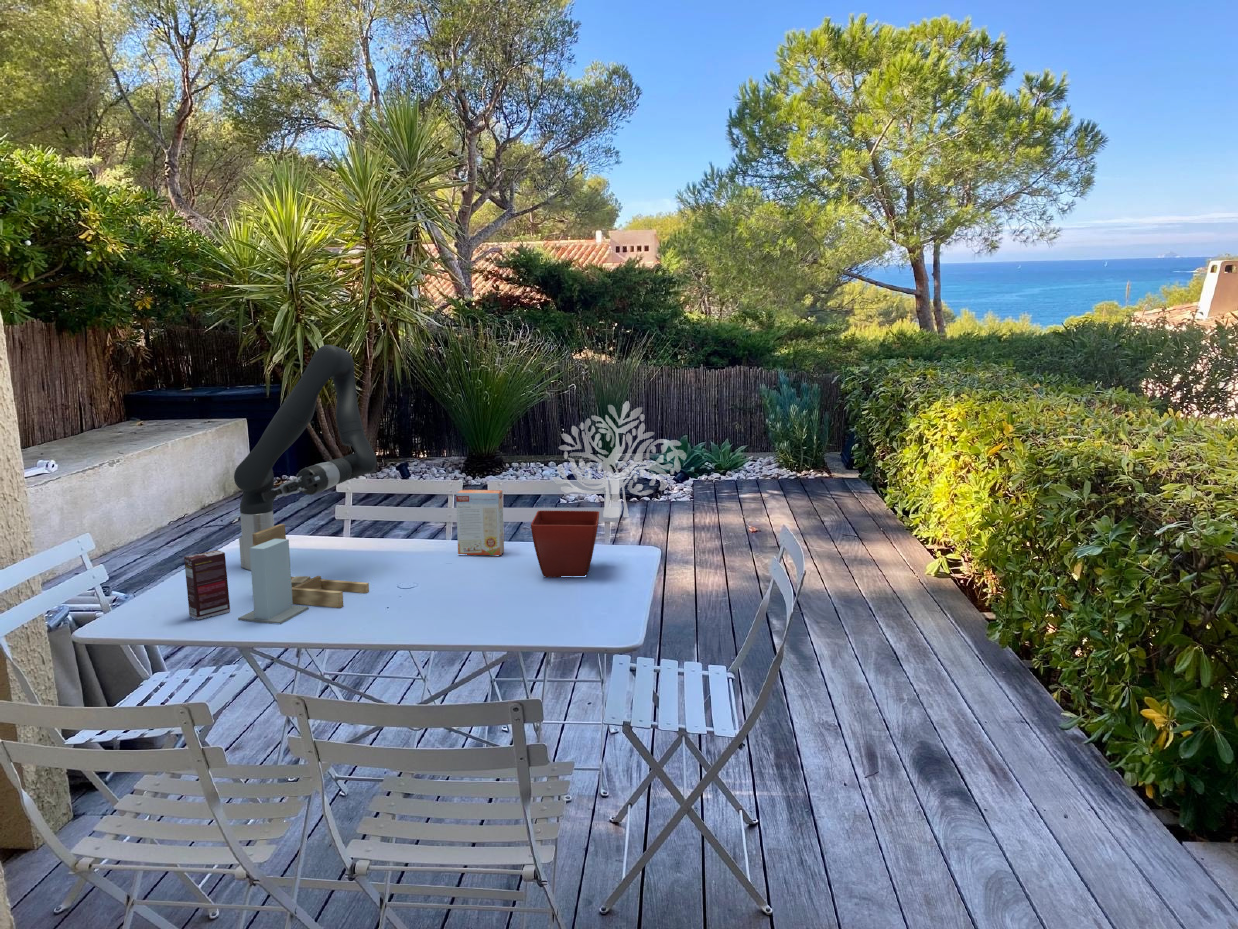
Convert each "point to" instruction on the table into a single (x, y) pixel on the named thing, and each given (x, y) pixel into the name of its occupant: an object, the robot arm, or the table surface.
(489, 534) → the cracker box
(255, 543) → the frame
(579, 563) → the plant pot
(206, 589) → the supplement box
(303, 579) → the offcut slab upper
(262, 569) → the upright blue-grey block
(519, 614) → the table surface
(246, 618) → the mat
